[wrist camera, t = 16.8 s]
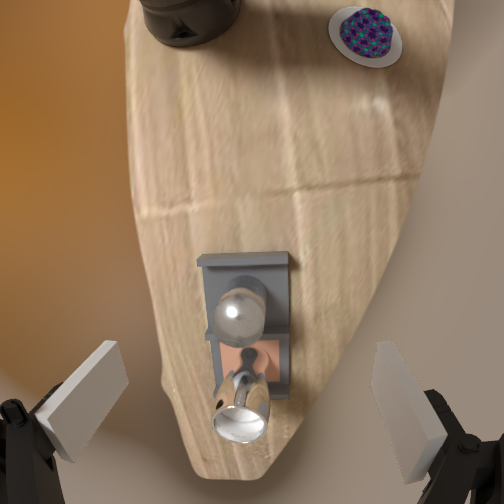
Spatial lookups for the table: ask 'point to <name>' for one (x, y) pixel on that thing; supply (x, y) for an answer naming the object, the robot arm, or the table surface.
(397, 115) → the table surface
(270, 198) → the table surface
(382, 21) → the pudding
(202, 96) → the table surface
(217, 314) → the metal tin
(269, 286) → the slot rack
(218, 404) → the beer glass
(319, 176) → the table surface
